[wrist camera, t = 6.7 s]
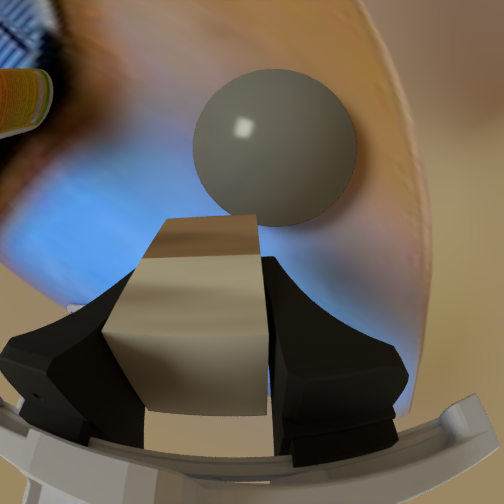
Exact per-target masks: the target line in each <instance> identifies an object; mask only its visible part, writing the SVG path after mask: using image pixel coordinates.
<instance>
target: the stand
mask: <svg viewBox="0 0 504 504" xmlns="http://www.w3.org/2000/svg"><path fill="white" fill-rule="evenodd" d="M193 157H194V163H195V167H196V171H197V174H198V176H199V179H200V181H201V183H202V185H203V186H204V188H205V190H206V191H207V193H208V194H209V195H210V196H211V198H212V199H213V200H214V201H215V202H216V203H217V204H218V205H219V206H220V207H221V208H223V209H224V210H225V211H227V212H228V213H229V214H231V215H253V214H256V217H257V225H261V226H268V227H281V226H289V225H294V224H298V223H301V222H304V221H307V220H309V219H311V218H313V217H315V216H317V215H319V214H320V213H322V212H323V211H325V210H326V209H327V208H328V207H330V206H331V205H332V204H333V203H334V202H335V201H336V200H337V199H338V198H339V196H340V195H341V194H342V192H343V191H344V189H345V188H346V186H347V184H348V182H349V180H350V178H351V175H352V173H353V169H354V165H355V161H356V136H355V131H354V127H353V124H352V121H351V119H350V116H349V114H348V112H347V110H346V109H345V107H344V106H343V104H342V103H341V101H340V100H339V99H338V98H337V96H336V95H335V94H334V93H333V92H331V91H330V90H329V89H328V88H327V87H326V86H324V85H323V84H321V83H320V82H319V81H317V80H315V79H313V78H311V77H309V76H307V75H304V74H301V73H298V72H294V71H290V70H282V69H266V70H259V71H254V72H251V73H248V74H245V75H242V76H240V77H238V78H236V79H234V80H232V81H230V82H229V83H227V84H226V85H225V86H223V87H222V88H221V89H220V90H219V91H218V92H216V93H215V94H214V95H213V97H212V98H211V99H210V100H209V101H208V103H207V104H206V106H205V107H204V109H203V111H202V112H201V115H200V117H199V119H198V122H197V125H196V128H195V132H194V139H193Z"/></svg>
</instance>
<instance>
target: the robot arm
mask: <svg viewBox="0 0 504 504" xmlns="http://www.w3.org/2000/svg"><path fill="white" fill-rule="evenodd" d="M261 264H262V274H263V284H264V293H265V303H266V313H267V323H268V333H269V342H268V365H269V374H270V388H271V404H272V419H273V438H274V456H271V457H249V458H248V457H247V458H228V457H227V458H226V457H203V456H190V455H180V454H171V453H164V452H157V451H151V450H145V449H144V416H145V405H144V403H143V402H142V400H141V399H140V397H139V396H138V394H137V393H136V391H135V390H134V388H133V387H132V385H131V383H130V382H129V380H128V379H127V377H126V375H125V374H124V372H123V370H122V369H121V367H120V365H119V363H118V362H117V360H116V358H115V356H114V354H113V353H112V351H111V349H110V347H109V345H108V343H107V341H106V339H105V337H104V335H103V334H102V332H101V331H102V329H103V327H104V325H105V324H106V322H107V320H108V318H109V316H110V314H111V312H112V310H113V308H114V306H115V304H116V303H117V301H118V299H119V297H120V295H121V293H122V292H123V290H124V288H125V286H126V285H127V283H128V281H129V279H130V278H131V276H132V274H133V272H134V271H135V269H136V268H135V269H134V270H133V271H131V272H130V273H129V274H128V275H126V276H125V277H124V278H123V279H121V280H120V281H119V282H118V283H116V284H115V285H114V286H112V287H111V288H110V289H108V290H107V291H106V292H104V293H103V294H101V295H100V296H99V297H97V298H96V299H94V300H93V301H91V302H90V303H88V304H87V305H77V304H69V305H68V306H67V310H68V312H69V315H68V316H66V317H64V318H62V319H60V320H58V321H56V322H54V323H52V324H49V325H47V326H44V327H42V328H39V329H37V330H34V331H31V332H28V333H25V334H22V335H19V336H15V337H12V338H11V339H10V340H9V341H8V343H7V344H6V346H5V347H4V349H3V351H2V352H1V354H0V371H1V372H2V374H3V375H4V376H5V378H6V379H7V380H8V381H9V382H10V384H11V385H12V386H13V387H14V388H15V389H16V390H17V392H18V393H19V394H20V395H21V397H20V399H19V401H18V404H17V406H16V407H14V406H12V405H10V404H8V403H7V402H5V401H3V400H2V398H1V397H0V456H1V457H3V458H4V459H6V460H7V461H8V462H10V463H11V464H13V465H14V466H16V467H17V468H18V469H19V470H20V472H21V473H23V474H24V475H25V477H26V478H27V480H28V481H27V485H26V489H25V493H24V497H23V501H22V504H401V503H404V502H406V501H409V500H411V499H413V498H416V497H418V496H420V495H422V494H425V493H426V492H428V491H431V490H433V489H435V488H437V487H439V486H440V485H442V484H444V483H446V482H448V481H450V480H451V479H453V478H455V477H457V476H458V475H460V474H462V473H463V472H465V471H467V470H468V469H470V468H471V467H473V466H475V465H476V464H478V463H479V462H480V461H482V460H483V459H485V458H486V457H488V456H489V455H491V454H492V453H493V452H495V451H496V450H497V449H499V447H500V444H499V441H498V439H497V436H496V434H495V431H494V429H493V427H492V425H491V422H490V420H489V418H488V416H487V414H486V412H485V410H484V407H483V406H482V403H481V401H480V399H479V397H478V396H477V394H472V395H470V396H468V397H466V398H464V399H462V400H460V401H458V402H456V403H454V404H452V405H451V406H449V407H448V408H447V409H446V410H445V411H443V413H442V414H441V415H440V417H439V418H437V419H435V420H432V421H429V422H427V423H424V424H421V425H419V426H416V427H413V428H410V429H408V430H405V431H402V432H399V433H397V431H396V428H395V425H394V422H393V420H392V419H394V418H395V416H396V414H395V411H394V408H393V404H394V403H395V402H396V400H397V399H398V398H399V396H400V395H401V393H402V392H403V390H404V388H405V387H406V385H407V382H408V378H409V374H408V372H407V370H406V368H405V366H404V363H403V361H402V359H401V357H400V356H399V354H398V352H397V351H396V349H395V348H394V346H392V345H389V344H387V343H384V342H382V341H379V340H377V339H374V338H372V337H369V336H367V335H365V334H363V333H361V332H359V331H357V330H355V329H353V328H351V327H350V326H348V325H346V324H344V323H343V322H341V321H340V320H338V319H337V318H335V317H333V316H332V315H330V314H329V313H328V312H326V311H325V310H323V309H322V308H321V307H320V306H318V305H317V304H316V303H315V302H313V301H312V300H311V299H310V298H309V297H308V296H307V295H306V294H305V293H304V292H303V291H302V290H301V289H300V288H299V287H298V286H297V285H296V284H295V282H294V281H293V280H292V279H291V278H290V277H289V276H288V274H287V273H286V272H285V270H284V269H283V268H282V266H281V265H280V264H279V262H278V261H277V259H276V258H275V257H274V256H268V257H261ZM222 481H224V482H222ZM255 481H270V484H254V483H253V484H252V483H234V482H255Z"/></svg>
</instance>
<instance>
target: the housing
mask: <svg viewBox="0 0 504 504" xmlns="http://www.w3.org/2000/svg"><path fill="white" fill-rule="evenodd" d="M101 332H102V334H103V335H104V337H105V339H106V341H107V343H108V345H109V347H110V349H111V351H112V353H113V354H114V356H115V358H116V360H117V362H118V363H119V365H120V367H121V369H122V370H123V372H124V374H125V375H126V377H127V379H128V380H129V382H130V383H131V385H132V387H133V388H134V390H135V391H136V393H137V394H138V396H139V397H140V399H141V400H142V402H143V403H144V405H145V406H146V408H147V409H148V411H154V412H163V413H173V414H185V415H202V416H262V415H267V387H268V342H269V333H268V323H267V313H266V303H265V293H264V284H263V274H262V264H261V255H260V245H259V236H258V226H257V217H256V214H253V215H228V216H207V217H190V218H174V219H166V221H165V222H164V224H163V225H162V227H161V229H160V230H159V232H158V233H157V235H156V236H155V238H154V239H153V241H152V243H151V244H150V246H149V247H148V249H147V251H146V252H145V254H144V256H143V257H142V259H141V261H140V262H139V264H138V266H137V267H136V269H135V271H134V272H133V274H132V276H131V278H130V279H129V281H128V283H127V285H126V286H125V288H124V290H123V292H122V293H121V295H120V297H119V299H118V301H117V303H116V304H115V306H114V308H113V310H112V312H111V314H110V316H109V318H108V320H107V322H106V324H105V325H104V327H103V329H102V331H101Z"/></svg>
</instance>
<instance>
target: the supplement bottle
mask: <svg viewBox="0 0 504 504" xmlns="http://www.w3.org/2000/svg"><path fill="white" fill-rule="evenodd" d="M52 99H53V84H52V80H51V77H50V76H49V74H48V73H47V72H46V71H44V70H41V69H0V139H2V138H5V137H9V136H12V135H16V134H20V133H23V132H27V131H30V130H33V129H35V128H36V127H37V126H39V125H40V124H41V123H42V121H43V120H44V119H45V117H46V115H47V114H48V112H49V109H50V106H51V103H52Z"/></svg>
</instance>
